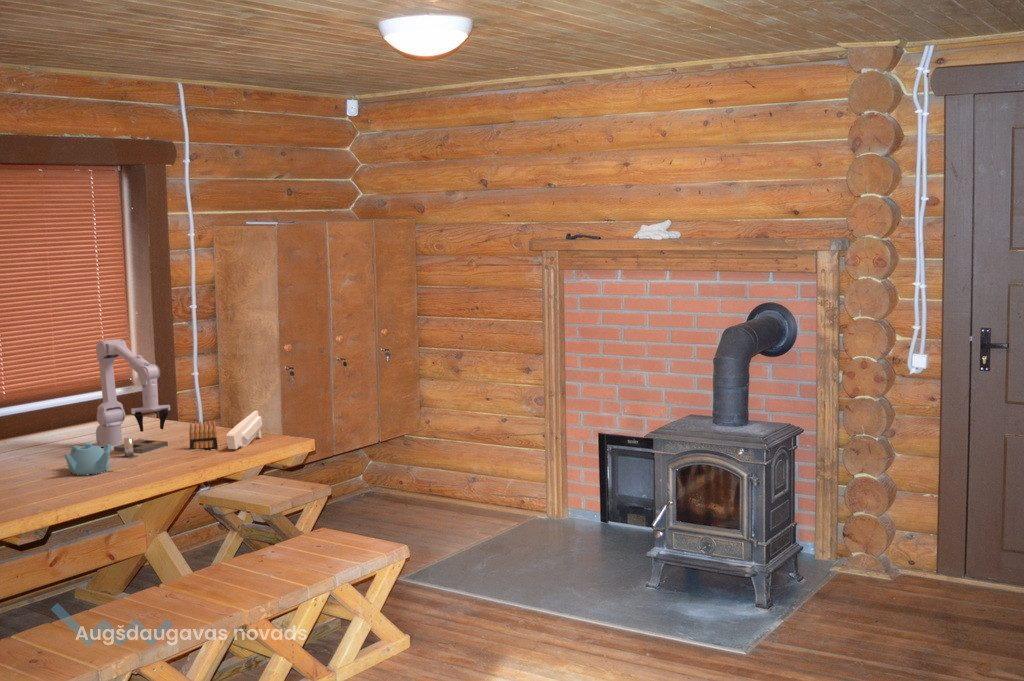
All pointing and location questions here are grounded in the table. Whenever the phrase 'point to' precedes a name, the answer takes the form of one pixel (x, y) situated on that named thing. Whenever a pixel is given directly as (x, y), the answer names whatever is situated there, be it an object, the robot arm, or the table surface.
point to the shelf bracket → (245, 431)
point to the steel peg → (128, 447)
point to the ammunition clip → (203, 436)
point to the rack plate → (143, 445)
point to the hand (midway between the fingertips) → (151, 430)
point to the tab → (129, 457)
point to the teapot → (88, 459)
